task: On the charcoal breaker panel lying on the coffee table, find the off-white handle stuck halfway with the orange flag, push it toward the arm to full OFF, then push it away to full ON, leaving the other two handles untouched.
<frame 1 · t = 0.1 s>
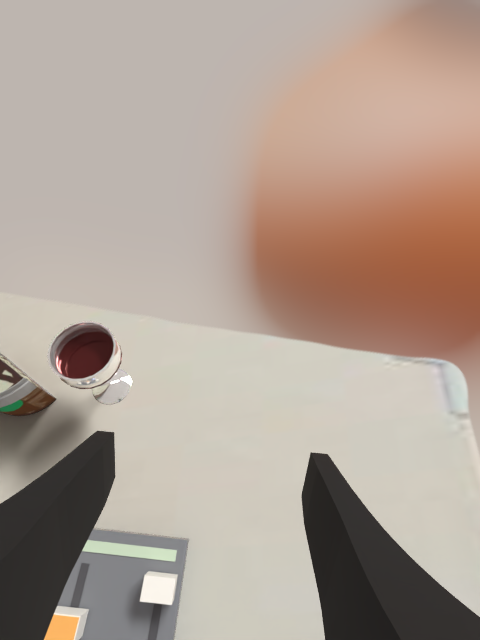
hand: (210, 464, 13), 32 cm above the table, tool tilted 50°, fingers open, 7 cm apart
breaker 2: (159, 587, 34), point 3 cm above the table, slide at 7.0 cm
wineglass: (112, 386, 46), on the table
breaker panel: (76, 615, 35), on the table
breaker tripped: (65, 624, 32), point 3 cm above the table, slide at 3.5 cm
food container: (12, 397, 45), on the table
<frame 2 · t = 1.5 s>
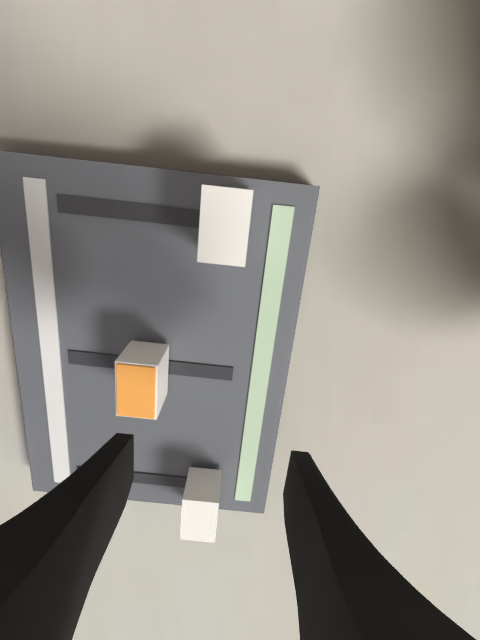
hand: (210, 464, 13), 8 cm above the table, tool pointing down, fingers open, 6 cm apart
breaker 2: (201, 503, 20), point 3 cm above the table, slide at 7.0 cm
breaker panel: (158, 353, 20), on the table
breaker tripped: (143, 379, 18), point 3 cm above the table, slide at 3.5 cm
breaker 1: (226, 224, 15), point 3 cm above the table, slide at 7.0 cm
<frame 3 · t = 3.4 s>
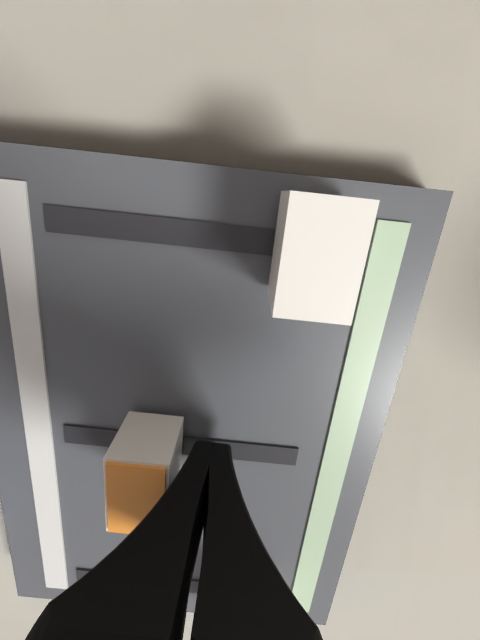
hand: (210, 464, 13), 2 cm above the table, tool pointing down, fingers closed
breaker panel: (187, 420, 15), on the table
breaker tripped: (146, 472, 12), point 3 cm above the table, slide at 2.6 cm, touching gripper
breaker 1: (313, 253, 9), point 3 cm above the table, slide at 7.0 cm
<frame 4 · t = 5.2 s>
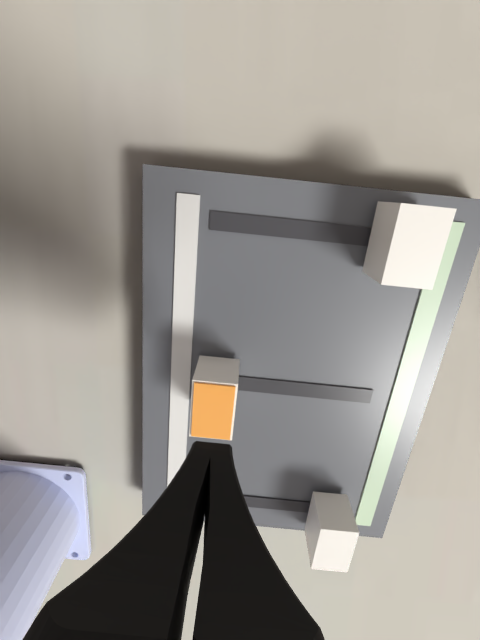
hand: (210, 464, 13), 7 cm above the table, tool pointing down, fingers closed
breaker 2: (329, 530, 20), point 3 cm above the table, slide at 7.0 cm
breaker panel: (283, 373, 20), on the table
breaker tripped: (215, 397, 17), point 3 cm above the table, slide at -0.1 cm
breaker 1: (403, 243, 14), point 3 cm above the table, slide at 7.0 cm
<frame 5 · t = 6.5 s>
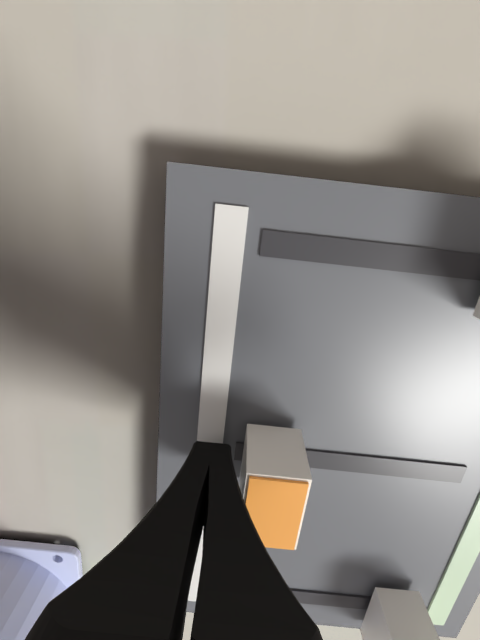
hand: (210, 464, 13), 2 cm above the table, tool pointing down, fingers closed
breaker panel: (339, 436, 15), on the table
breaker tripped: (270, 484, 12), point 3 cm above the table, slide at 0.3 cm, touching gripper
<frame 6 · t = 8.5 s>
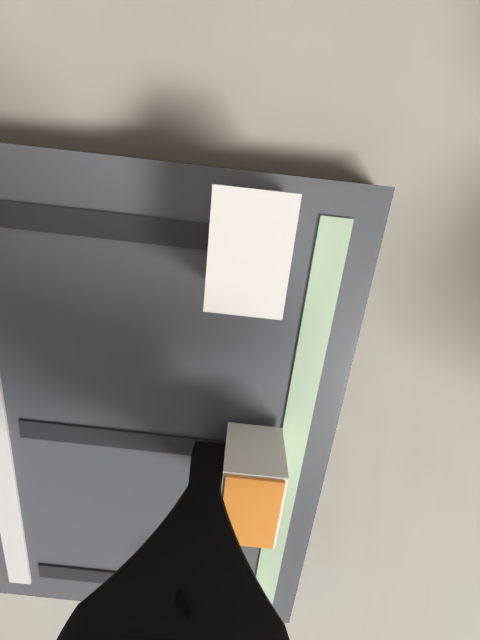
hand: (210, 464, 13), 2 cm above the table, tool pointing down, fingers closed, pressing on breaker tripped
breaker panel: (147, 416, 15), on the table
breaker tripped: (250, 483, 12), point 3 cm above the table, slide at 7.9 cm, touching gripper
breaker 1: (249, 248, 9), point 3 cm above the table, slide at 7.0 cm
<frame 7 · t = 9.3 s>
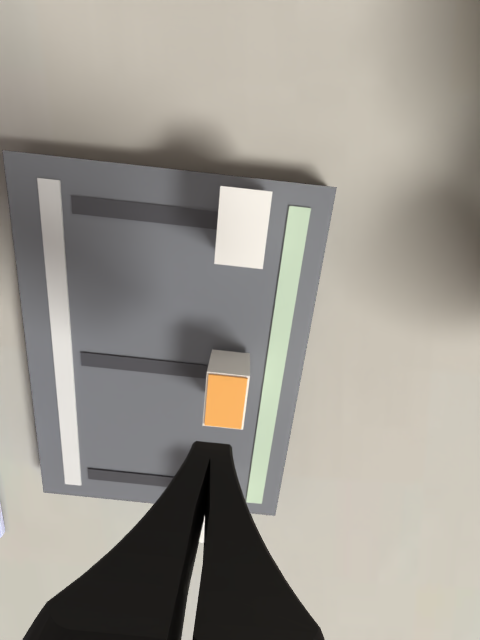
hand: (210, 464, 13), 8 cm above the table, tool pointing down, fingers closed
breaker 2: (213, 506, 20), point 3 cm above the table, slide at 7.0 cm
breaker panel: (170, 354, 20), on the table
breaker tripped: (227, 388, 18), point 3 cm above the table, slide at 7.0 cm
breaker 1: (242, 226, 15), point 3 cm above the table, slide at 7.0 cm
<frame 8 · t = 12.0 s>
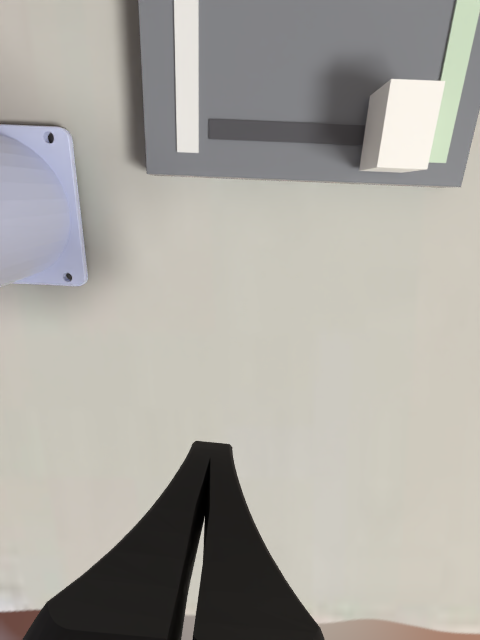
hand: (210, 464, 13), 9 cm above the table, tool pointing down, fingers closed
breaker 2: (397, 131, 14), point 3 cm above the table, slide at 7.0 cm
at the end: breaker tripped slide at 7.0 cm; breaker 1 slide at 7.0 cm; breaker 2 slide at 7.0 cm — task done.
